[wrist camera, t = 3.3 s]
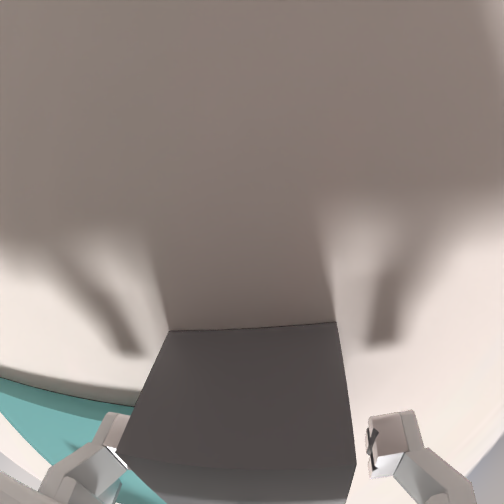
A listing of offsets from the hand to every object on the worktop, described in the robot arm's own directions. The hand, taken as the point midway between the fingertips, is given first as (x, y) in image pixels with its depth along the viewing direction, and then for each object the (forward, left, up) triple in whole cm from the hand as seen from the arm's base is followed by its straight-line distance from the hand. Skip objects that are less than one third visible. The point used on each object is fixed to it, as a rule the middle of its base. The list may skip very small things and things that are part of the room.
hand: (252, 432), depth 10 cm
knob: (0, 0, -2) cm, 2 cm away
